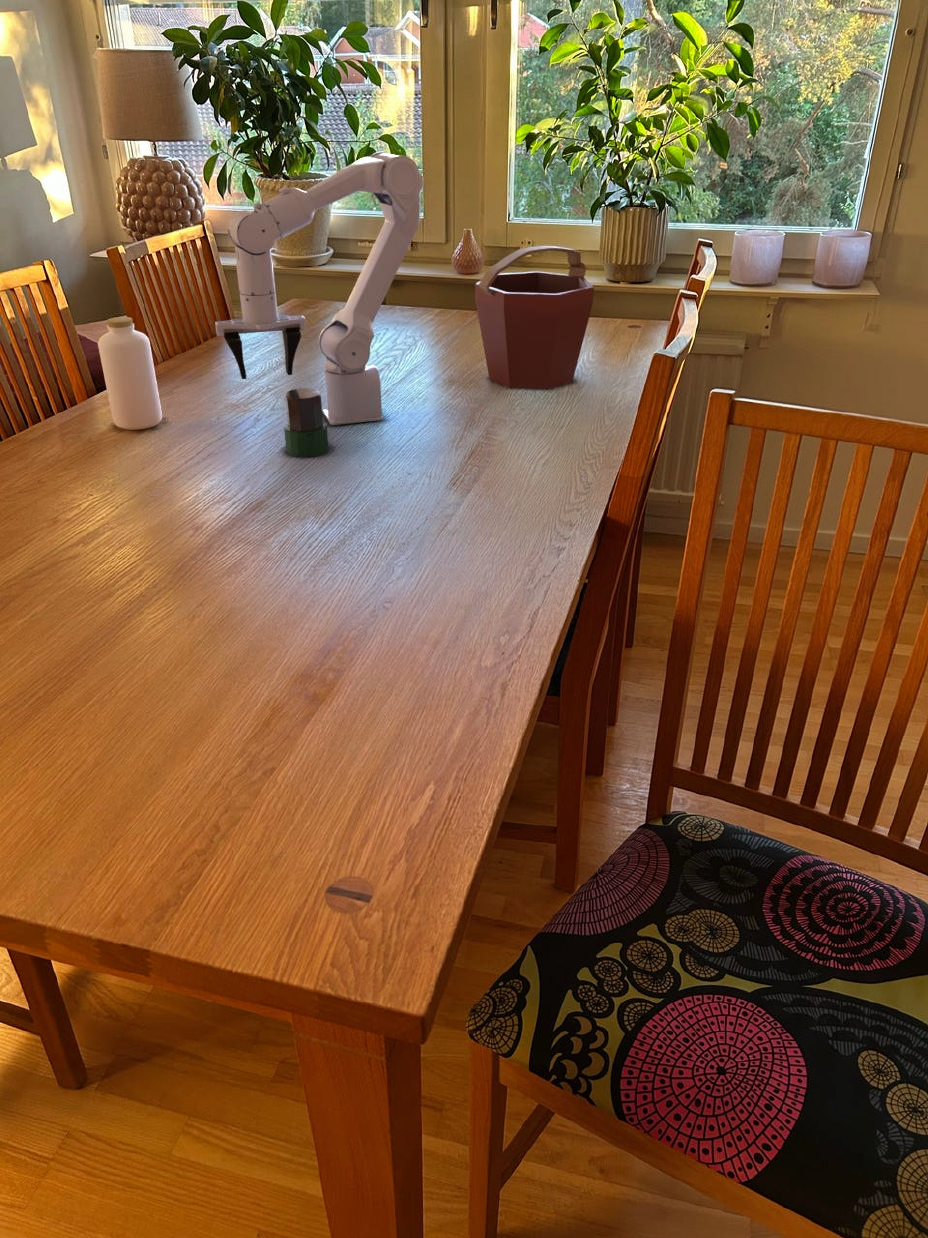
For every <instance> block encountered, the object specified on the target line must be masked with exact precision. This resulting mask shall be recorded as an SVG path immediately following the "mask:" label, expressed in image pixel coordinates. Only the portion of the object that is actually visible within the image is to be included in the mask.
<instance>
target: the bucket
mask: <svg viewBox="0 0 928 1238" xmlns="http://www.w3.org/2000/svg"><path fill="white" fill-rule="evenodd" d="M541 252H561V253H566V256H567V263H568V266H569V271H568V274H566V273H565V274H564V273H555V272H548V271H540V270H537V271H536V270H535V271H522V272H521V271H520V272H506V273H505V272H504V273H501V272H503V271H505V270H507V269H509V268H510V267H511V266H512V265H514V264H515V263H516V262H519V261H520V260H522V259H523V258H526V257H527V256H529V255H531V254H536V253H541ZM581 255H582V254H581V251H579V250H576V249H572V248H568V247H563V246H553V245H536V246H528V247H524V248H519V249H517V250H516V251H514V252H512V253H510V254H508V255H507V256H505V257H504V258H502V259H501V260H499V261H498V262H497V263H494V264H493V265H492V266H490V267H489V268H488V270H487V271H486V272H485V273H484V275H483V276H482V277H481V279H480V280H479V281H477V282H476V283H475V285H474V287H475V288H474V295H475V296H474V300H475V306H476V312H477V317H478V323H479V328H480V334H481V339H482V340H481V341H482V344H483V345H482V346H483V351H484V357H485V361H486V368H487V374H488V378H489V380H490V381H493V382H495V383H497V384H499V385H502V386H504V387H506V388H508V389H518V390H519V389H520V390H542V391H543V390H545V391H546V390H547V391H548V390H552V389H556V388H558V387H562V386H564V385H567V384H571V383H573V381H574V377H575V375H576V371H577V370H576V369H577V366H578V362H579V358H580V354H581V351H582V348H583V347H582V345H583V343H584V339H585V335H586V331H587V327H588V323H589V320H590V316H591V312H592V308H593V304H594V292H595V286H594V285H593V284H592V283H590V281H588V280H587V279H586V278H585V276H586V271H587V266H586V265H585V263H583V262H582V261H581V260H582V256H581Z"/></svg>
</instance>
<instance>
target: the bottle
mask: <svg viewBox="0 0 928 1238" xmlns="http://www.w3.org/2000/svg"><path fill="white" fill-rule="evenodd" d="M283 429H284V439H285V449H286V452H287V454H288V455H290V456H293V457H297V458H312V457H318V456H322V455H323V454H326V453H327V452H328V451H329V435H328V425H327V424H326V422H324V421H323V427H322V428H320V429H318V430H316V431H311V432H297V431H291V430H290V429H289V427H288V423H286V424H285V426H284V427H283Z"/></svg>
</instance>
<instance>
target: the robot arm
mask: <svg viewBox="0 0 928 1238" xmlns="http://www.w3.org/2000/svg"><path fill="white" fill-rule="evenodd" d="M424 185H425V184H424V181H423V178H422V175H421V173H420V170H419V167H418V165H417V163H416V162H415V160H413V159H412V158H411V157H409V156H407V155H396V154H390V153H388V152H386V151H377V152H374V153H372V154H371V155H370V156H364V157H361V158H359V159H358V160H355V161H354V162H353V163H350V164H349V165H347V166H345V167H344V168H342V169H340V170H339V171H337V172H335V173H334V174H332V175H330V176H328V177H326V178H325V179H323V180H321V181H320V182H318V183H316V184H314V185H313V186H311V187H310V188H308V189H306V190H302V189H300V188H297V187H295V186H293V187H290V188H289V187H287V186H283V187H281V188H279V190H278V193H279V194H277V195H276V196H273V197H271V198H270V199H268V200H266V201H264V202H261V203H260V202H258V201H256V202H254V203H253V204H252V207H253V211H252V210H247V209H246V210H244V209H243V210H240V211H238V212H236V213H235V214H233V216H232V219H231V220H230V222H229V226H228V228H229V229H227V235H228V238H229V239H230V241H231V243H232V244H233V245H234V251H235V258H236V260H235V261H236V262H235V265H236V275H237V284H238V291H239V299H240V308H241V317H240V318H234V319H228V320H221V321H215V322H214V324H215V325H214V326H215V333H216V336H217V337H223V338H224V340H225V342H226V344H227V346H228V347H229V349H230V351H231V353H232V354H233V357H234V358H235V362H236V363H237V367H238V370H239V374H240V377H241V380H247V372H246V367H245V363H244V353H243V342H242V339H241V336H240V335H241V334H242V335H243V334H256V333H268V332H269V333H270V332H281V333H282V339H283V347H284V361H285V362H284V363H285V371H286V375H287V376H292V375H293V366H294V361H295V355H296V354H297V349H298V347H299V344H300V341H301V339H302V332H301V331H306V330H307V321H306V320H307V319H306V317H305V316H304V315H279V314H278V303H277V295H276V284H275V283H276V282H275V273H274V263H273V260H272V248H273V247H274V244H275V242H276V241H280V240H282V239H284V238H285V237H287V236H289V235H291V234H293V233H294V232H296V231H299V230H300V229H302V228H305V227H306V226H308V225H310V224H311V223H312V222H313V220H314V216H315V213H316V211H319V210H321V209H323V208H325V207H327V206H330V205H331V204H334V203H337V202H338V201H341V200H343V199H345V198H346V197H349V196H351V195H354V194H355V193H359V192H365V193H372V194H373V195H374V197H375V198H376V200H377V201H378V203H379V206H380V209H381V211H382V214H383V217H384V222H383V224H382V227H381V229H380V231H379V233H378V235H377V237H376V240H375V241H374V243H373V246H372V248H371V250H370V252H369V254H368V256H367V259H366V261H365V263H364V265H363V267H362V270H361V271H360V274H359V276H358V277H357V280H356V281H355V284H354V287H353V288H352V290H351V293H350V295H349V298H348V299H347V301H346V304H345V306H344V307H343V308H342V309H340V310H339V311H338V312H336V313H335V314H334V316H333V318H332V320H331V322H330V323H329V324H327V325H326V326H325V327H324V328H323V329H322V330H321V332H320V334H319V337H318V348H319V351H320V353H321V354H322V355H323V356H324V357H325V363H324V376H325V377H324V378H325V388H326V389H325V390H326V406H327V408H325V409H322V414H323V415H324V416H325V418H326V420H327V422H328V423H329V425H331V426H339V425H340V426H341V425H348V424H349V425H350V424H357V423H367V422H368V423H369V422H377V421H383V420H384V417H383V410H382V409H383V408H382V390H381V389H382V387H381V386H382V385H381V377H380V373H379V370H378V367H377V366H376V365H367V364H368V363H369V360H370V357H371V346H372V342H373V340H374V338H375V330H374V320H375V318H376V317H377V315H378V313H379V311H380V308H381V306H382V304H383V302H384V300H385V298H386V296H387V293H388V291H389V290H390V288H391V285H392V283H393V281H394V279H395V278H396V275H397V273H398V270H399V268H400V266H401V264H402V263H403V260H404V258H405V256H406V254H407V252H408V250H409V247H410V245H411V244H412V241H413V239H414V237H415V235H416V233H417V231H418V229H419V226H420V221H421V220H420V219H421V218H420V217H421V192H422V190H423V188H424Z"/></svg>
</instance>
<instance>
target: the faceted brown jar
mask: <svg viewBox="0 0 928 1238" xmlns="http://www.w3.org/2000/svg"><path fill="white" fill-rule="evenodd" d="M284 398H285V399H284V400H285V411H286V420H287V421H286V422H287V424H288V427H289V429H290V430H291V431H297V432H311V431H316V430H318V429H320V428H322V427H323V422H324V418H323V407H322V406H323V405H322V396H321V392H320V391H319V390H318V389H315V388H307V387H303V388H294V389H290V390H288V391H287V392H285V394H284Z"/></svg>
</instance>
